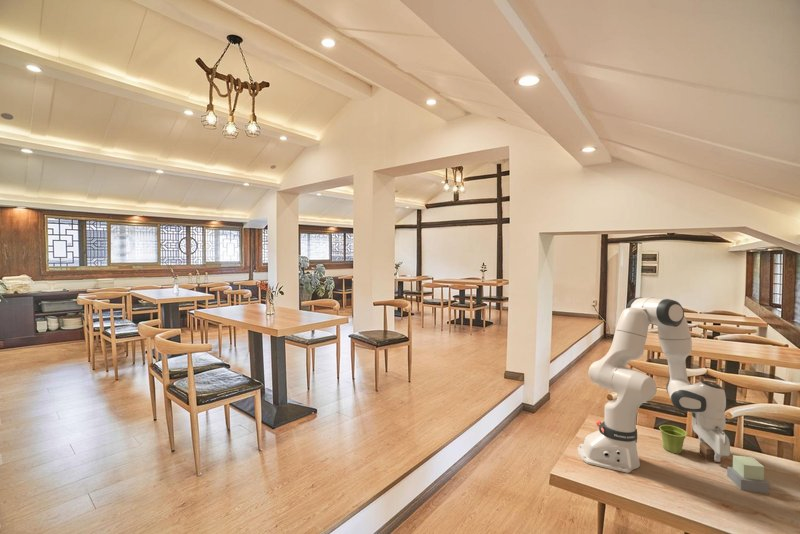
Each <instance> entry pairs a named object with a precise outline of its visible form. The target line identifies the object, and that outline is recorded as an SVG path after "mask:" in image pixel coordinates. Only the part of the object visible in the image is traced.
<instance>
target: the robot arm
mask: <svg viewBox="0 0 800 534" xmlns="http://www.w3.org/2000/svg"><path fill="white" fill-rule="evenodd" d="M625 307H626V308H624V309H623V310H622V312H621V314H620V315H619V317H618V320H617V323H616V326H615V330H614V333H613V334H614V336H613V339H612V342H611V346H610V348H609V350H608V351H607V352H606V354H605V355H604V356H603V357H602V358H600V359H598V360H595V361H594V362H592V363H591V364H590V366H589V368H588V373H587V374H588V377H589V379H590V381H591V382H592V383H593V384H595V385H597V386H599V387H601V388H603V389H606V390H607V391H611V392H614V393H616V394H617V398H615V399H611V400H608V401H607V402H606V403H605V405H604V417H603V418H604V421H603V422H601V420H599V419H597V420H595V424H596V426H597V427H598V430H595V431H593V432H591V433H589V434H587V435H586V436H585V438H584V440H583V443H579V445H578V446H577V453H578V456H579V457H580V458H581V460H582V461H583V462H585V463H586V464H587V465H592V466H597V467H601V468H605V469H609V470H613V471H619V472H624V473H627V474H629V473H631V472H632V471H633V470H636V469H639V468H640V466H641V461H640V459H639V453H638V448H637V442H638V429H637V415H638V410H639V408H640V406H642V405H643V404H644V403H646V402H648V401H651V400H652V399H653V398H654V397H655V396H656V394H657V391H658V386H657V383H656V380H655V379H654V378H653V377H651V376H650V375H648V374H646V373H644V372H641V371H639V370H636V369H633V368H629V367H627V365H628V363H629V362H631V361H632V360H638V359H640V358H641V357H643V355H644V352H645V351H644V350H645V348H646V347H645V346H646V343H647V337H648V332H649V326H650V325H656V326H657V336H658V342H659V344H660V348H661V351H662V353H663V355H664V356H665V358H666V360H667V366H668V373H669V378H668V381H667V383H666V385H665V386H666V387H665V388H666V393H667V394H668V395H669V396H668V397H669V398H670V402H671V403H672V405H673V406H674V407H675V408H676V409H678V410H679V411H682V412H688V413H690V414H691V415H690V416H691V417H692V418H691V425H692V430H693V432H694V433H695V434H696V435H697V436H698V440H699V443H700V442H701V443H707V444H708V445H709V446H710V447H711V448H712V449H713V450H714V452H715V455H713V459H714V460H715V461H717V462H716V463H721V462H720V458H721V459H722V457H729V456H730V455H731V444H730V439H729V437H728V435H727V434H726V432H725V430H726V418H727V417H726V414H725V410H726V407H727V395H726V392H725V389H724V388H723V387H722V386H721V385H720V384H717V383H715V382H713V381H710V380H700V381H698V382H696V383H693V384H692V383H691V382H690V380H689V378H688V372H687V366H686V365H687V364H686V362H687V361H686V360H687V357H689V356H690V355H691V354H692V348H693V341H692V334H691V330H690V327H689V323H688V321H687V318H686V316H685V310H684V308H683V306H682V305H681V303H680V302H679V301H677V300H673V299H671V298H659V297H649V296H647V297H641V296H640V297H635V298H632V299H630V300H629V301H628V303H627V304H626V306H625Z"/></svg>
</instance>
